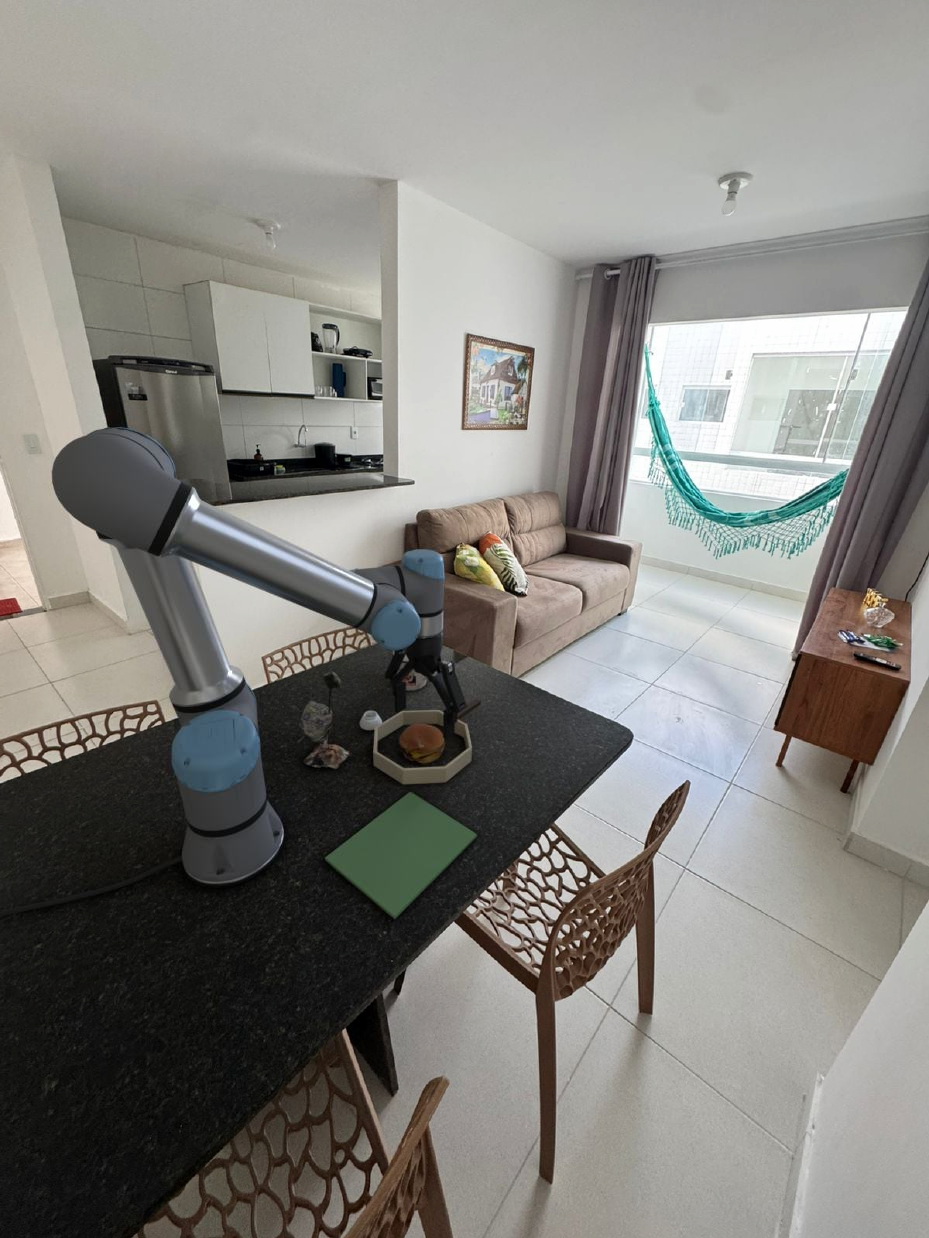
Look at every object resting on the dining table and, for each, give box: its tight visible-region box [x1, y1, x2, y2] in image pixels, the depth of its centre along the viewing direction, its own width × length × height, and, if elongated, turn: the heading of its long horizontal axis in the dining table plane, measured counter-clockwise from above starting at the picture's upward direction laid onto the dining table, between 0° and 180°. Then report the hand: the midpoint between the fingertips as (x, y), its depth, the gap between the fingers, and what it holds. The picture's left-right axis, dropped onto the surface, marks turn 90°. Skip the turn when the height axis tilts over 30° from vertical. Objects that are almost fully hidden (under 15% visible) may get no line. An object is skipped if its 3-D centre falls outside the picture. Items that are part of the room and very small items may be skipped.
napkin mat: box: [324, 791, 478, 920], centre depth 86 cm, size 20×16×1 cm
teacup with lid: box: [391, 650, 437, 692], centre depth 132 cm, size 12×9×12 cm
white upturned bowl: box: [359, 710, 383, 731], centre depth 117 cm, size 5×3×5 cm
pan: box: [372, 698, 482, 785], centre depth 113 cm, size 30×20×4 cm
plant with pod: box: [297, 671, 353, 770], centre depth 102 cm, size 8×11×20 cm
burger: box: [398, 724, 446, 765], centre depth 109 cm, size 10×9×5 cm
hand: (423, 722), depth 107 cm, fingers open, 13 cm apart
